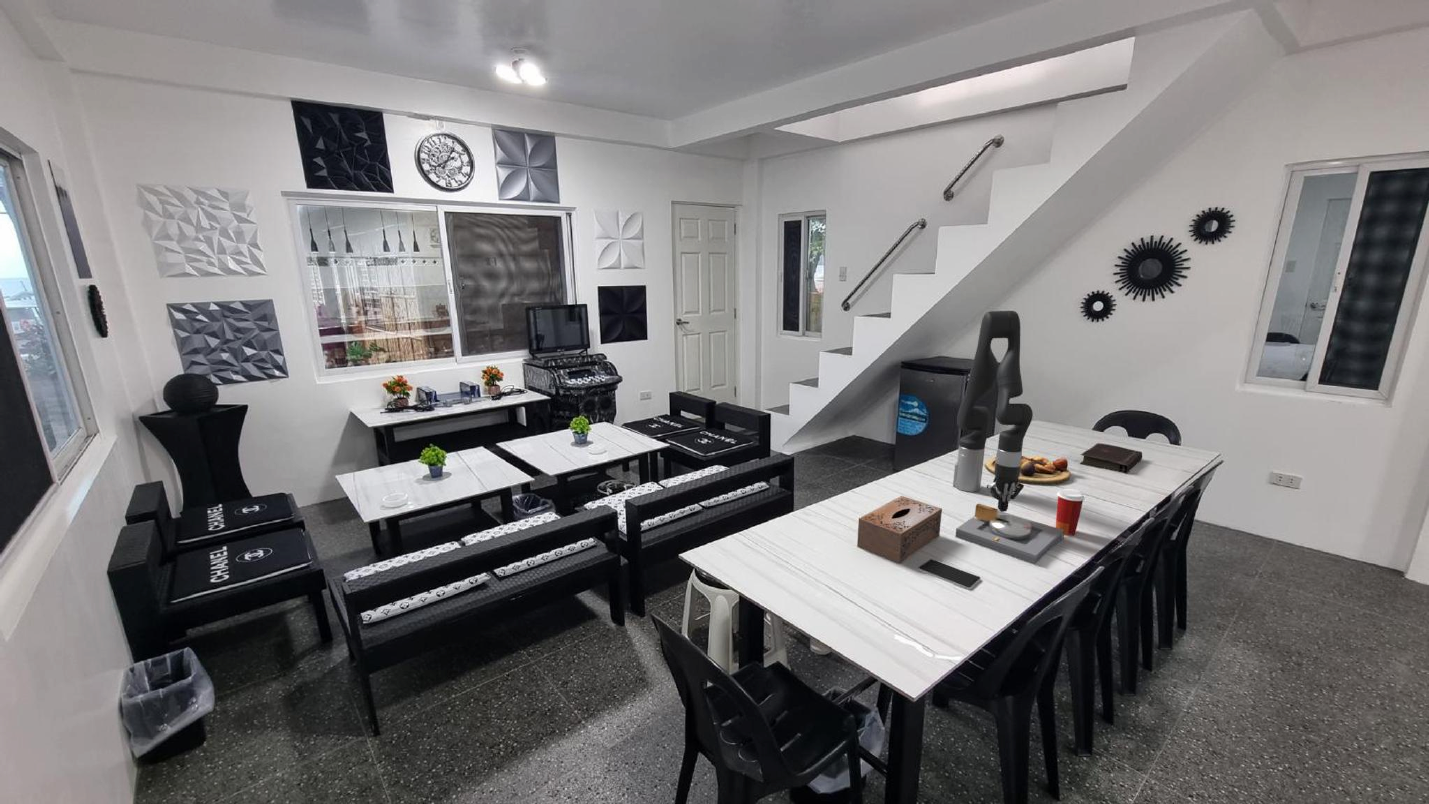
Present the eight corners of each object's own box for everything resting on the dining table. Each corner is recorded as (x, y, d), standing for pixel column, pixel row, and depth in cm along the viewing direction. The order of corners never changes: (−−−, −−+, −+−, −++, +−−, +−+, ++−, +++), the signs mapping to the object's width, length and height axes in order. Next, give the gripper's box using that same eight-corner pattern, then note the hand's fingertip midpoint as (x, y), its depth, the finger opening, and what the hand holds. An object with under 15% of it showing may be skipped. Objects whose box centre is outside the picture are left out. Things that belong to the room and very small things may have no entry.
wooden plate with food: (1071, 467, 247) (1073, 449, 245) (1069, 491, 221) (1071, 471, 219) (990, 456, 264) (991, 439, 262) (979, 477, 237) (981, 458, 236)
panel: (955, 536, 185) (956, 527, 184) (986, 515, 201) (987, 506, 200) (1034, 564, 168) (1035, 554, 167) (1062, 538, 183) (1063, 529, 182)
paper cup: (1075, 528, 190) (1081, 489, 187) (1081, 538, 183) (1088, 498, 180) (1049, 525, 193) (1054, 486, 189) (1054, 535, 186) (1060, 495, 182)
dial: (1036, 531, 183) (1038, 514, 182) (1021, 544, 175) (1024, 526, 174) (983, 515, 195) (984, 499, 194) (967, 526, 188) (969, 509, 186)
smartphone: (930, 558, 171) (981, 576, 160) (930, 562, 171) (981, 580, 160) (917, 568, 165) (969, 587, 155) (917, 571, 166) (968, 591, 155)
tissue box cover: (898, 564, 169) (900, 534, 167) (857, 547, 179) (858, 518, 177) (939, 536, 186) (942, 508, 184) (899, 522, 196) (901, 495, 194)
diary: (1141, 462, 254) (1143, 451, 253) (1127, 476, 238) (1129, 465, 236) (1093, 451, 267) (1095, 441, 266) (1077, 464, 251) (1078, 453, 250)
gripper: (997, 467, 182) (992, 517, 186) (1034, 464, 185) (1027, 513, 189) (983, 460, 190) (977, 507, 194) (1017, 457, 192) (1012, 504, 196)
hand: (1002, 510), depth 191 cm, fingers closed
